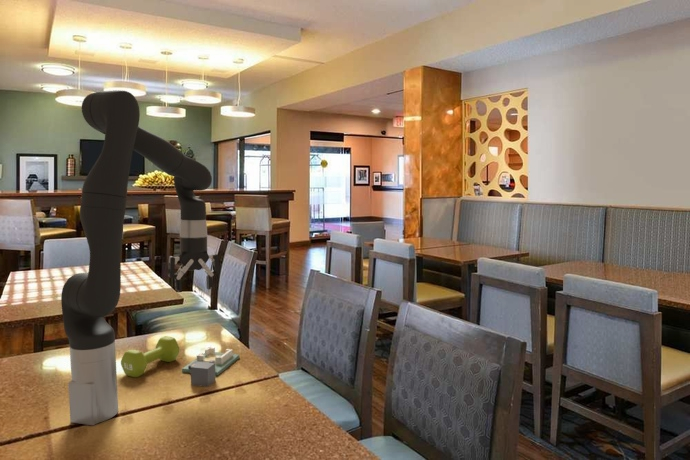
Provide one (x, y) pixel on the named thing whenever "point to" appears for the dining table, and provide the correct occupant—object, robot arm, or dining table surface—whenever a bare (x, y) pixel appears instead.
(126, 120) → the robot arm
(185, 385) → the dining table surface
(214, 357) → the board
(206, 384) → the plug
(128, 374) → the dumbbell
